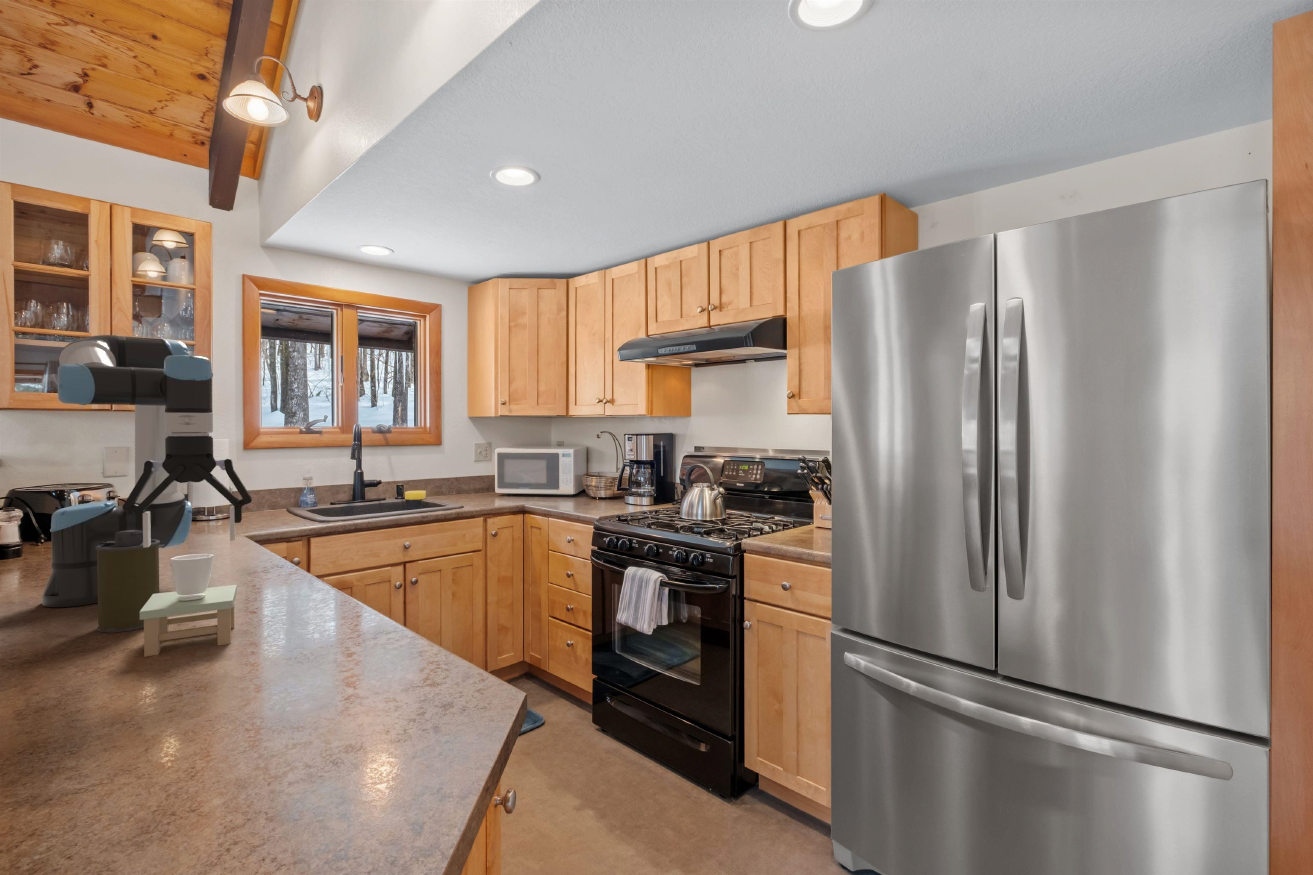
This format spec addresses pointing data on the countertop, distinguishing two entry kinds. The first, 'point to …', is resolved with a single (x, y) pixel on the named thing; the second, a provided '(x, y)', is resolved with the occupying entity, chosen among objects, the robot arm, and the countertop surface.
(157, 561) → the canister
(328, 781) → the countertop surface
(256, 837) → the countertop surface
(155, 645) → the stool
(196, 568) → the cup
